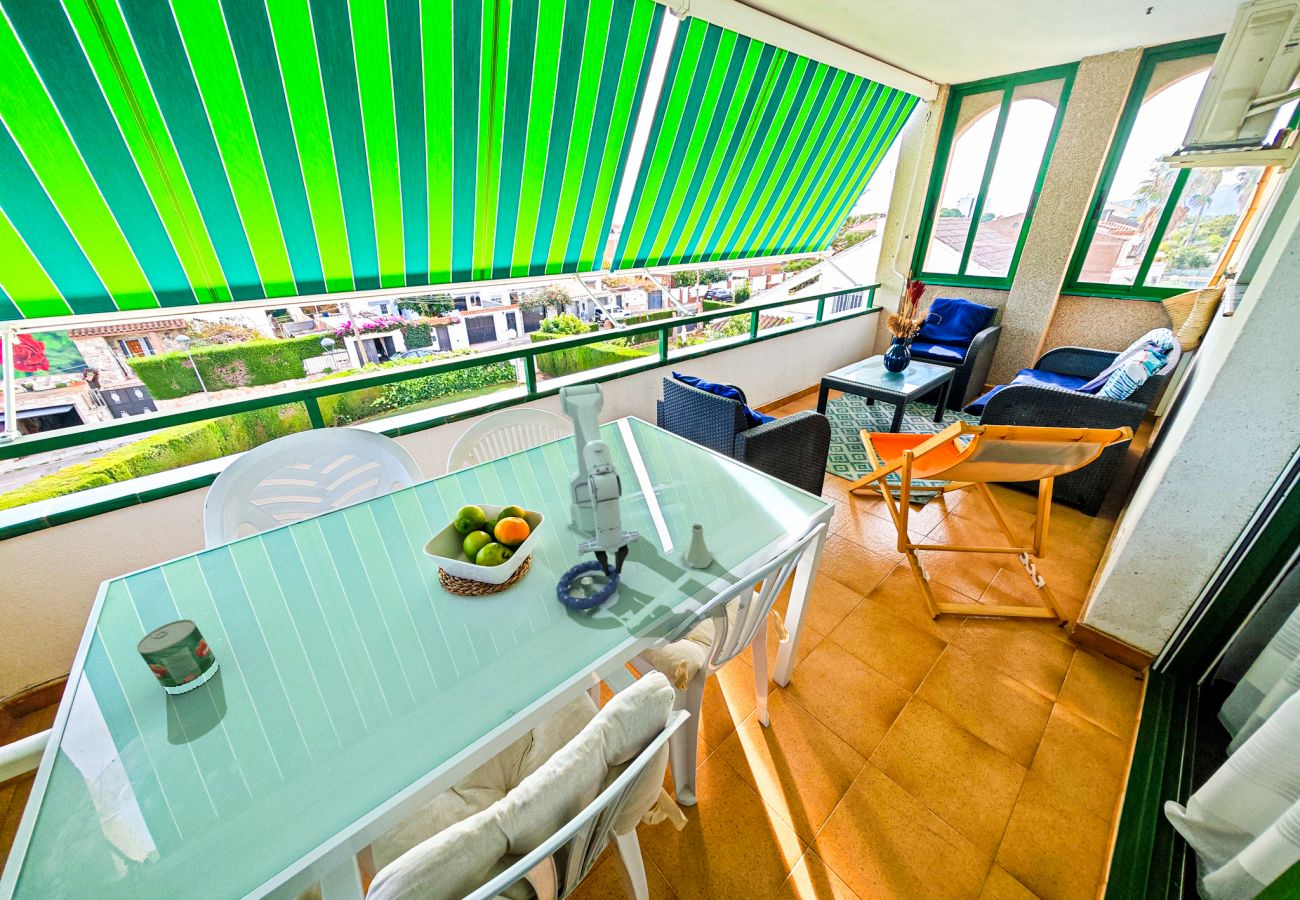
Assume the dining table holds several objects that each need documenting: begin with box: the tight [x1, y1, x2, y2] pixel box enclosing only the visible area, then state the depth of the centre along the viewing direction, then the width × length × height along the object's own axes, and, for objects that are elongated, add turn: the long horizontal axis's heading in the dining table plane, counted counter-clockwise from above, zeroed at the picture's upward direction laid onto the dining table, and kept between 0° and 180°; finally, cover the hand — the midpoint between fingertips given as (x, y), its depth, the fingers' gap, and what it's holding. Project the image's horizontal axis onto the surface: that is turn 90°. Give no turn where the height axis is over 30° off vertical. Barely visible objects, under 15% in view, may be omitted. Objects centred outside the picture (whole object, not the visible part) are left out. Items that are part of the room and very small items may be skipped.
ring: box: [555, 560, 621, 611], centre depth 105 cm, size 14×14×2 cm
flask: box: [684, 523, 713, 569], centre depth 114 cm, size 7×7×10 cm
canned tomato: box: [136, 619, 216, 692], centre depth 87 cm, size 8×8×11 cm
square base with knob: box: [567, 576, 600, 616], centre depth 105 cm, size 9×9×4 cm
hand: (612, 572), depth 106 cm, fingers closed on ring, 2 cm apart
